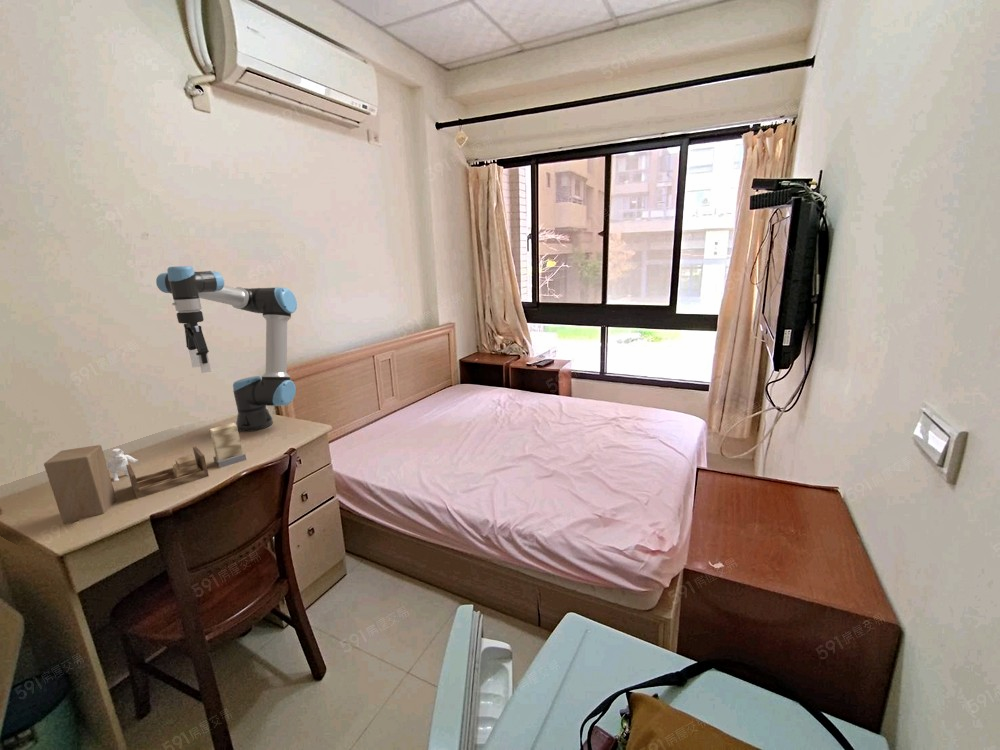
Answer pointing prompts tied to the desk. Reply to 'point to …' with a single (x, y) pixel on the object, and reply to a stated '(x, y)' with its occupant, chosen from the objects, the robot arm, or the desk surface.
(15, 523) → the desk surface
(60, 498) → the wooden block
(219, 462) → the holder
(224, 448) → the tan wood slab
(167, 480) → the rack
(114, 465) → the figurine
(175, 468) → the offcut stack
